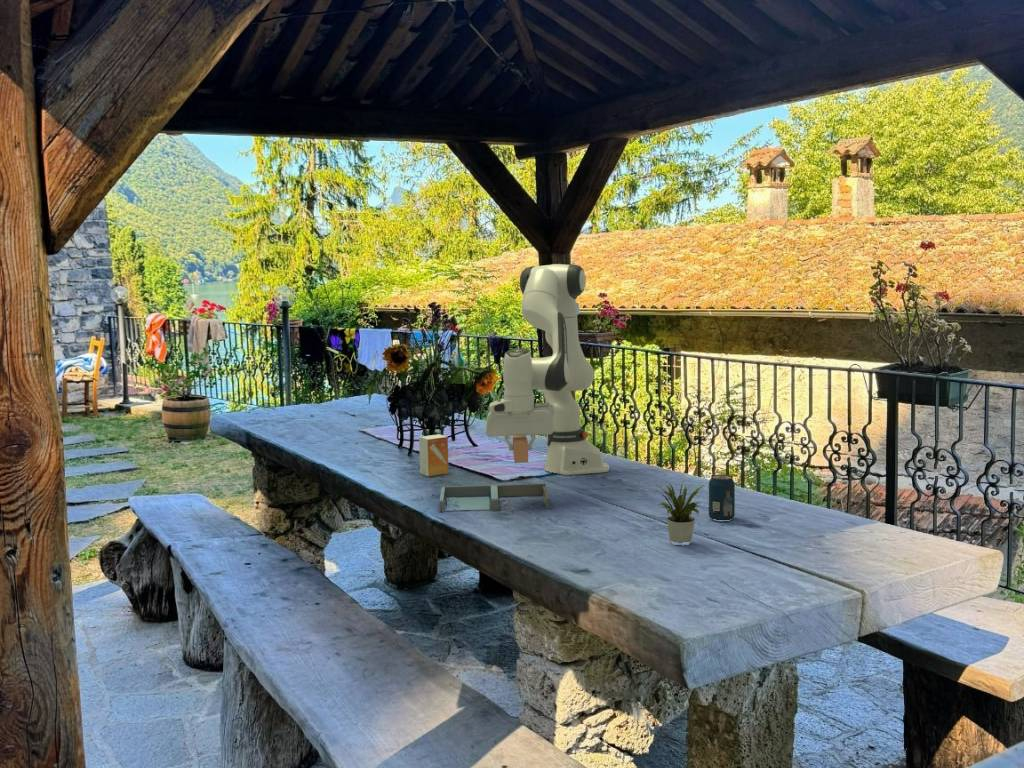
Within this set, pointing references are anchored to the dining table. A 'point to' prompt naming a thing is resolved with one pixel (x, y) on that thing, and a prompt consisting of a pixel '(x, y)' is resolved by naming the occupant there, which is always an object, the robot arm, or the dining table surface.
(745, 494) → the dining table surface
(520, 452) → the long orange rectangular block
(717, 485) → the soda can
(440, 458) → the small box
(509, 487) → the gate frame with panel
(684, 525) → the house plant
